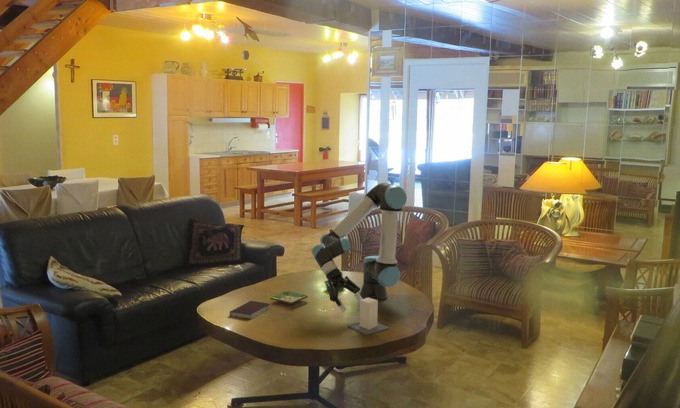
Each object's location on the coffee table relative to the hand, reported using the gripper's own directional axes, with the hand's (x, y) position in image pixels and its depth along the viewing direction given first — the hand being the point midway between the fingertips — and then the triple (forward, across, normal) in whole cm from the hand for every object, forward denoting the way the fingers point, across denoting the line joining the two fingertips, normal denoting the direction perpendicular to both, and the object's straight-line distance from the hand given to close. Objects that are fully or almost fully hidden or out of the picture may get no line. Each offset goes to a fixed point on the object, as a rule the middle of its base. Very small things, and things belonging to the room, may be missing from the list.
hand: (353, 307), depth 289 cm
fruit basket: (-25, -34, -36) cm, 56 cm away
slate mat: (+12, 0, +1) cm, 12 cm away
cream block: (+12, 0, +2) cm, 12 cm away
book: (-28, +25, -40) cm, 55 cm away
